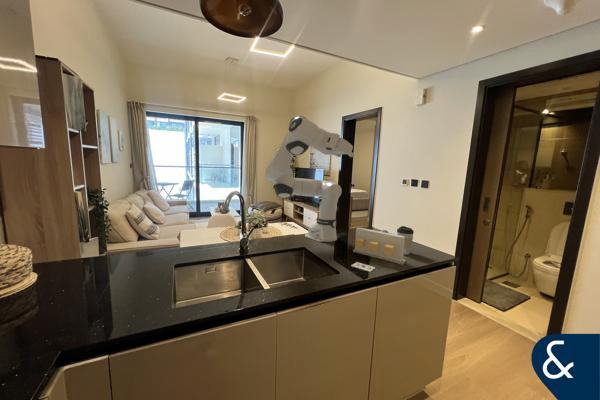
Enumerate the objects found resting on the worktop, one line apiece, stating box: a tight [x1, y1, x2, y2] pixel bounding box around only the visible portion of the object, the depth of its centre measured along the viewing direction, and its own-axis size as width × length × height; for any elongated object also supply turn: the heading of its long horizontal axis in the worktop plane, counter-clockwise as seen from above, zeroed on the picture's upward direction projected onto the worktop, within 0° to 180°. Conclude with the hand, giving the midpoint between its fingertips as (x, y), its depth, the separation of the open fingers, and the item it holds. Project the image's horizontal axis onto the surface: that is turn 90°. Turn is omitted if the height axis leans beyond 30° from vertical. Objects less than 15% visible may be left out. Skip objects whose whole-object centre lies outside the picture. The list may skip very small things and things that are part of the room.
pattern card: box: [350, 261, 376, 273], centre depth 122 cm, size 10×6×1 cm, turn 51°
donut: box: [378, 229, 390, 245], centre depth 155 cm, size 10×4×10 cm, turn 120°
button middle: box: [369, 241, 380, 252], centre depth 132 cm, size 4×7×4 cm, turn 141°
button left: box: [354, 238, 366, 248], centre depth 137 cm, size 4×7×4 cm, turn 141°
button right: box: [384, 245, 395, 256], centre depth 127 cm, size 4×7×4 cm, turn 141°
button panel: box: [352, 227, 406, 266], centre depth 136 cm, size 28×5×14 cm, turn 51°
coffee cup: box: [396, 225, 415, 256], centre depth 142 cm, size 9×9×15 cm
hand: (346, 155), depth 114 cm, fingers open, 8 cm apart
